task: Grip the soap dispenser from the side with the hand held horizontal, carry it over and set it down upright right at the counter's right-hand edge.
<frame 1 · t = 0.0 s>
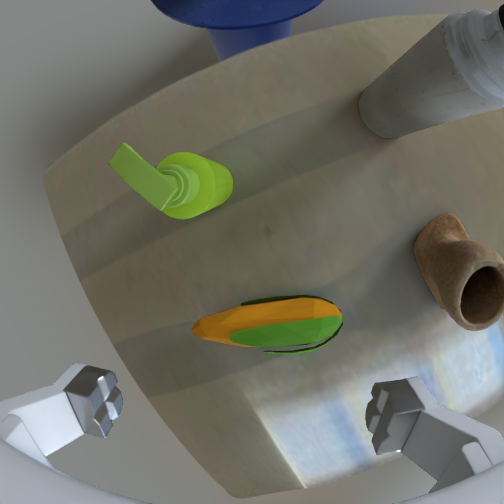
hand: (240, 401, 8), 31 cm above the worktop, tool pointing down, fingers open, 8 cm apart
stone cup: (440, 264, 38), on the worktop
soap dispenser: (208, 182, 37), on the worktop
corn: (266, 316, 41), on the worktop
thermos bottle: (384, 111, 34), on the worktop
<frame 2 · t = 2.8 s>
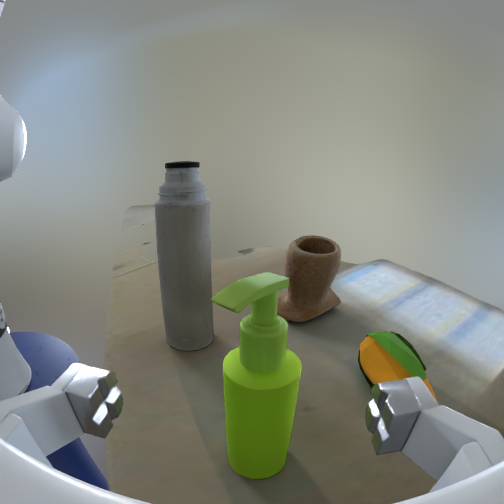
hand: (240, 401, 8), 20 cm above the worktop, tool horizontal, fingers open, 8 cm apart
stone cup: (309, 312, 57), on the worktop
soap dispenser: (253, 461, 24), on the worktop
corn: (394, 399, 32), on the worktop
thermos bottle: (190, 338, 47), on the worktop
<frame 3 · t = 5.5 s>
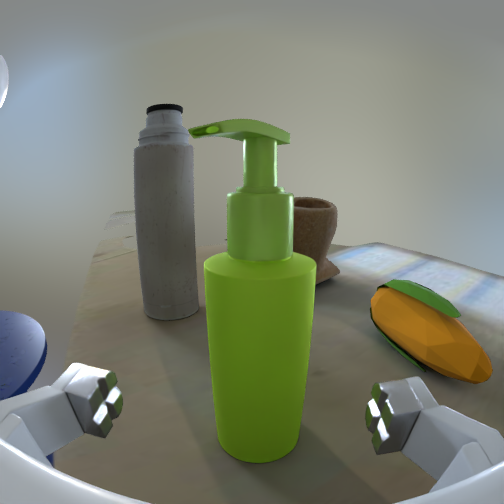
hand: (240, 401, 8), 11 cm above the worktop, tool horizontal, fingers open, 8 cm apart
stone cup: (305, 283, 52), on the worktop
soap dispenser: (253, 439, 18), on the worktop
corn: (420, 358, 26), on the worktop
thermos bottle: (171, 309, 41), on the worktop
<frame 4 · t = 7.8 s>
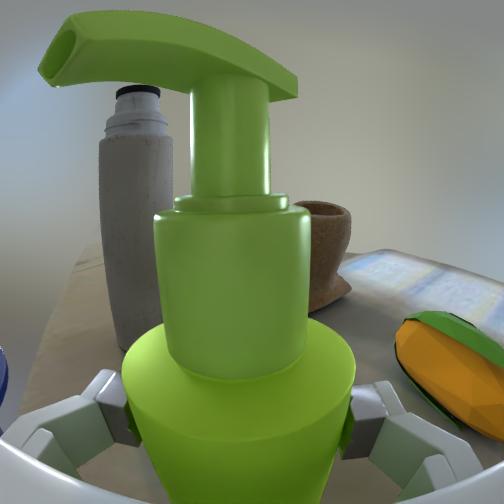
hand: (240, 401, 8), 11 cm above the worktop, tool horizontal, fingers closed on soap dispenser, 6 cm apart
stone cup: (311, 303, 44), on the worktop
corn: (454, 408, 18), on the worktop
thermos bottle: (149, 338, 32), on the worktop
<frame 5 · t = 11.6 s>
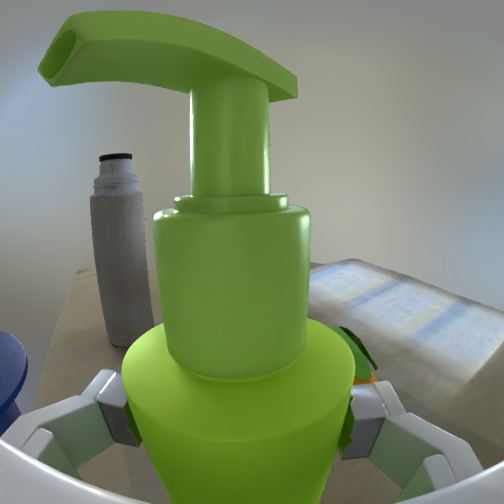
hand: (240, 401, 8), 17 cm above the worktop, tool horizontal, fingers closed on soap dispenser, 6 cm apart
corn: (343, 403, 29), on the worktop
thermos bottle: (131, 336, 43), on the worktop
when the fingers open (11 cm above the worktop, at t = 15.3 s): soap dispenser stays where it is, on the worktop.
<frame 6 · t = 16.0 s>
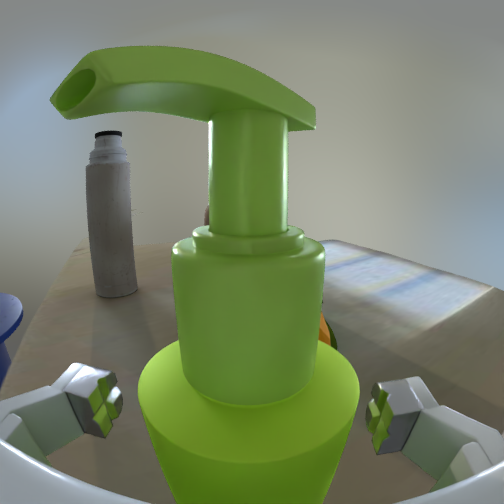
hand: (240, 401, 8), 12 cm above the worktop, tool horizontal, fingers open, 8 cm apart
corn: (295, 337, 35), on the worktop
thermos bottle: (116, 290, 49), on the worktop
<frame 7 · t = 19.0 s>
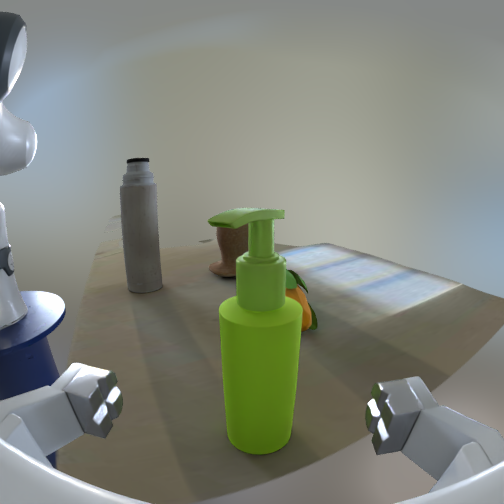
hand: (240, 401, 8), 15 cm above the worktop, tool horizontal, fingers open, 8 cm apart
stone cup: (241, 273, 74), on the worktop
soap dispenser: (255, 436, 23), on the worktop
corn: (288, 319, 48), on the worktop
thermos bottle: (145, 287, 62), on the worktop
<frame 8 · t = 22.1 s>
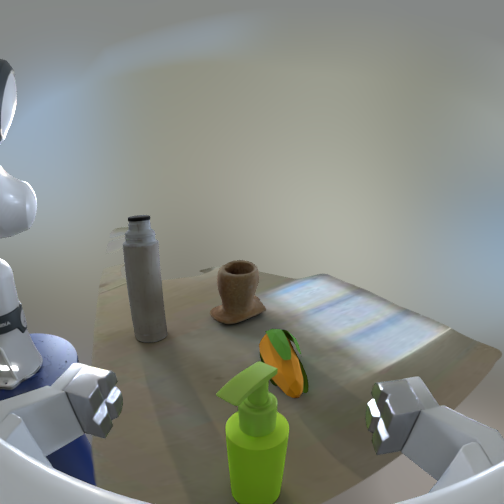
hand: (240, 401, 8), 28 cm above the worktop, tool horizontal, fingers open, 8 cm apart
stone cup: (241, 317, 77), on the worktop
soap dispenser: (253, 493, 26), on the worktop
corn: (283, 377, 51), on the worktop
thermos bottle: (151, 335, 65), on the worktop
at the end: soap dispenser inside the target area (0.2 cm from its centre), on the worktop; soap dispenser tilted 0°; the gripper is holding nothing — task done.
